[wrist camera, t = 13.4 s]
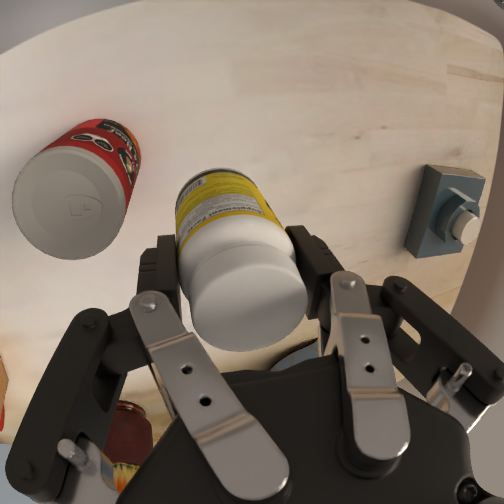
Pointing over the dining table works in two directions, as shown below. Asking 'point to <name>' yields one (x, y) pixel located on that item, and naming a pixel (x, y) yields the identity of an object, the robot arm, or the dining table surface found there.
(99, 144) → the canned food
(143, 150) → the dining table surface
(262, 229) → the supplement bottle
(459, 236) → the white button cap
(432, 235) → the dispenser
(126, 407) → the vase
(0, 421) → the apple
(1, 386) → the bread
